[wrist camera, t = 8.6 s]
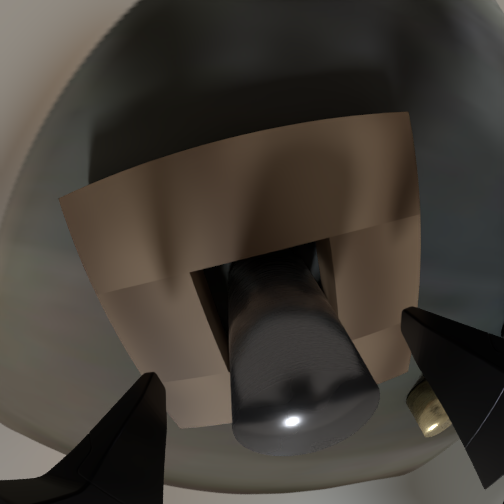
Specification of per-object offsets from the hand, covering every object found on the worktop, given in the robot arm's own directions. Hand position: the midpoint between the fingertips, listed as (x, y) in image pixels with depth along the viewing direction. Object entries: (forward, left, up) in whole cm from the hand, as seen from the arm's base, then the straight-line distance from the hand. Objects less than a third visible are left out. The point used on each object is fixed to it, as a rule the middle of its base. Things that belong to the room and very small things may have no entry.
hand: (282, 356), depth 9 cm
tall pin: (0, 0, -5) cm, 5 cm away
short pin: (-12, +15, -5) cm, 20 cm away
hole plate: (0, 0, -5) cm, 5 cm away
